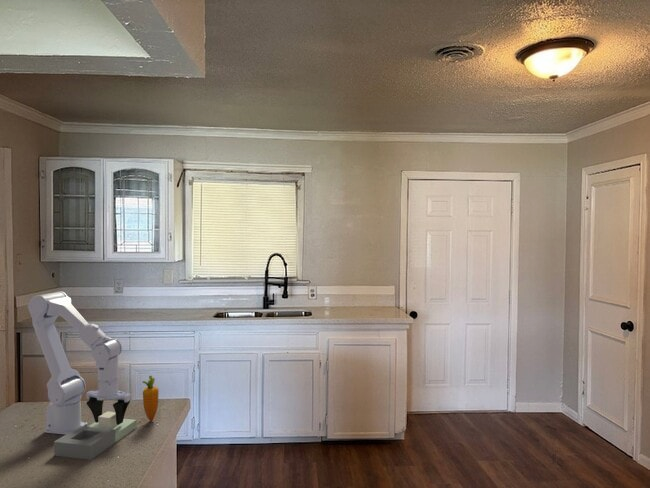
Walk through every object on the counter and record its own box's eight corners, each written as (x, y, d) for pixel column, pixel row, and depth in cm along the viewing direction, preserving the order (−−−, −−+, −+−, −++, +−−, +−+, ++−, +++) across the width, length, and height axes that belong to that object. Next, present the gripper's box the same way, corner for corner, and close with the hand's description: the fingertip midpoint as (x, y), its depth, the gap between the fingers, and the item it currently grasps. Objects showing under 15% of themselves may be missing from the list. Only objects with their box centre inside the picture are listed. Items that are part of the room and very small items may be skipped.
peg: (98, 435, 135) (98, 416, 135) (107, 430, 139) (107, 411, 138) (110, 437, 134) (109, 417, 134) (118, 431, 138) (118, 412, 138)
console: (91, 459, 121) (90, 445, 120) (54, 455, 123) (53, 441, 123) (136, 427, 140) (136, 415, 140) (103, 424, 143) (103, 412, 142)
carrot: (153, 425, 142) (152, 379, 141) (140, 424, 143) (139, 378, 142) (162, 418, 147) (161, 374, 146) (149, 417, 148) (148, 373, 147)
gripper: (78, 382, 133) (79, 425, 134) (120, 385, 130) (121, 430, 131) (94, 374, 140) (96, 416, 141) (134, 377, 137) (135, 419, 138)
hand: (109, 422), depth 136 cm, fingers open, 7 cm apart
